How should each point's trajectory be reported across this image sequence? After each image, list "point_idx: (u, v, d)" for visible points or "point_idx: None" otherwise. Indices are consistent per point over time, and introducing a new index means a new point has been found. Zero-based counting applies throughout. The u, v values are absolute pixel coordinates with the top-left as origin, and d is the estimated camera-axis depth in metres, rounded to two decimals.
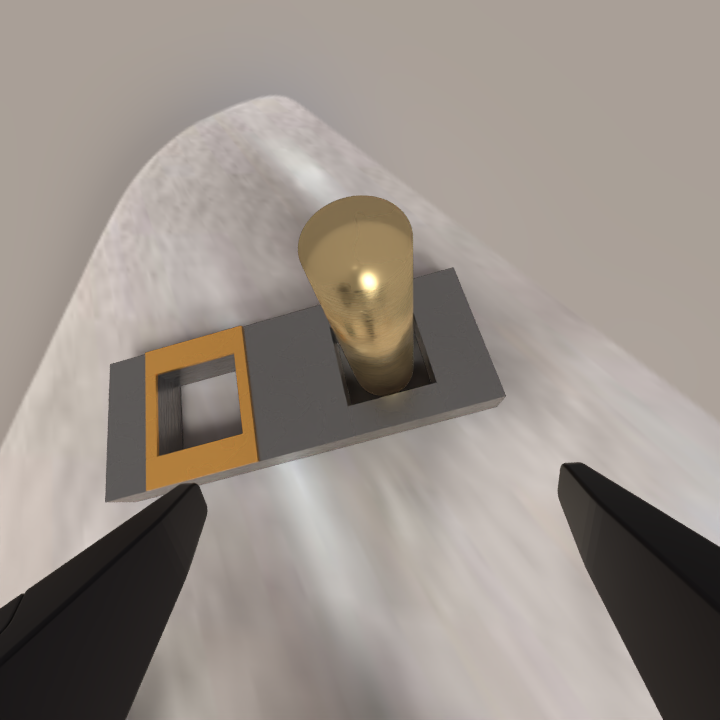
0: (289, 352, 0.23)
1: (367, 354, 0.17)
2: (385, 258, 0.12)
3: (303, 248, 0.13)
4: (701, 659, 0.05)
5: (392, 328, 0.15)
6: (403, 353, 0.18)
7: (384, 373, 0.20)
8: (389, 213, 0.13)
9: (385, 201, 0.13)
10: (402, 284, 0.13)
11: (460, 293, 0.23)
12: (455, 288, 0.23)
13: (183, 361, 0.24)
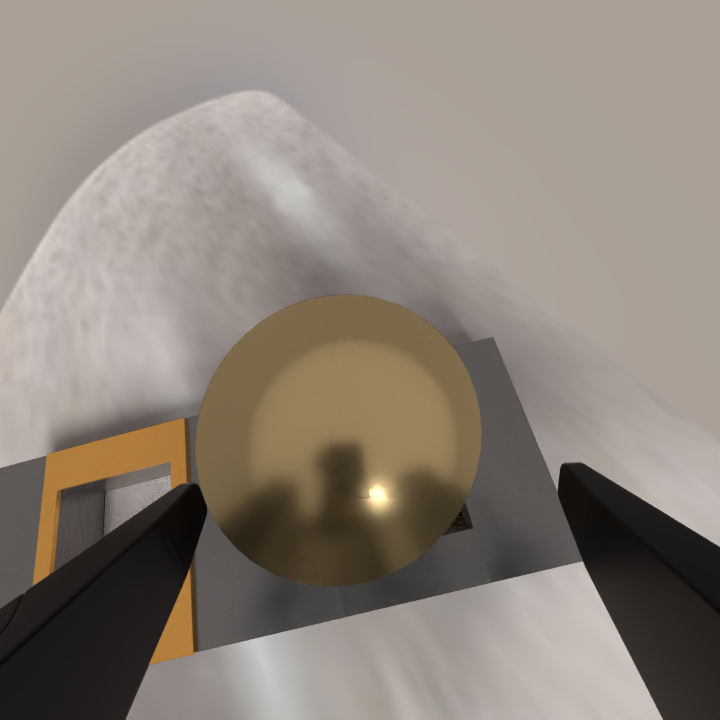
0: None
1: None
2: (410, 484, 0.05)
3: (208, 431, 0.05)
4: (701, 659, 0.05)
5: None
6: None
7: None
8: (418, 347, 0.05)
9: (407, 313, 0.05)
10: None
11: (505, 378, 0.15)
12: (497, 370, 0.16)
13: (97, 471, 0.16)
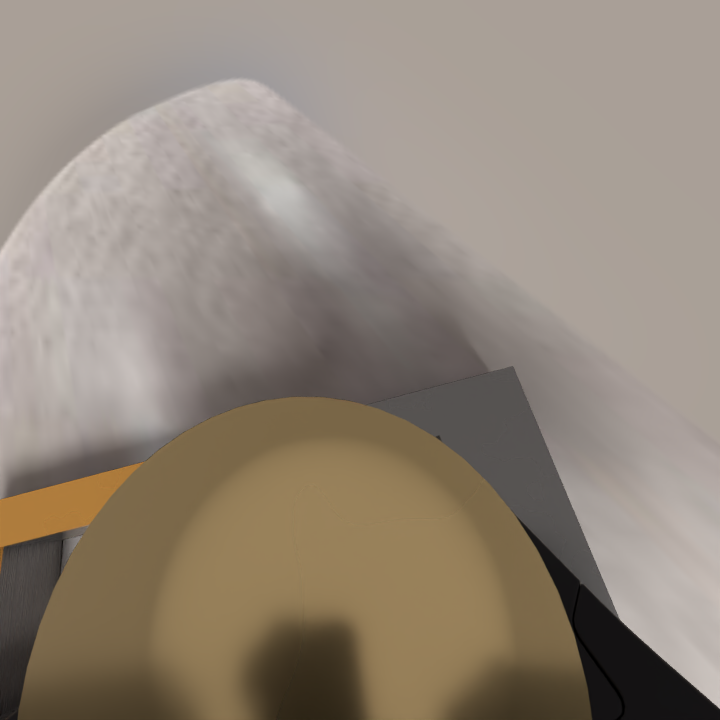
0: None
1: None
2: None
3: (47, 680, 0.03)
4: None
5: None
6: None
7: None
8: (451, 517, 0.03)
9: (429, 440, 0.03)
10: None
11: (528, 417, 0.13)
12: (518, 407, 0.13)
13: (46, 524, 0.14)
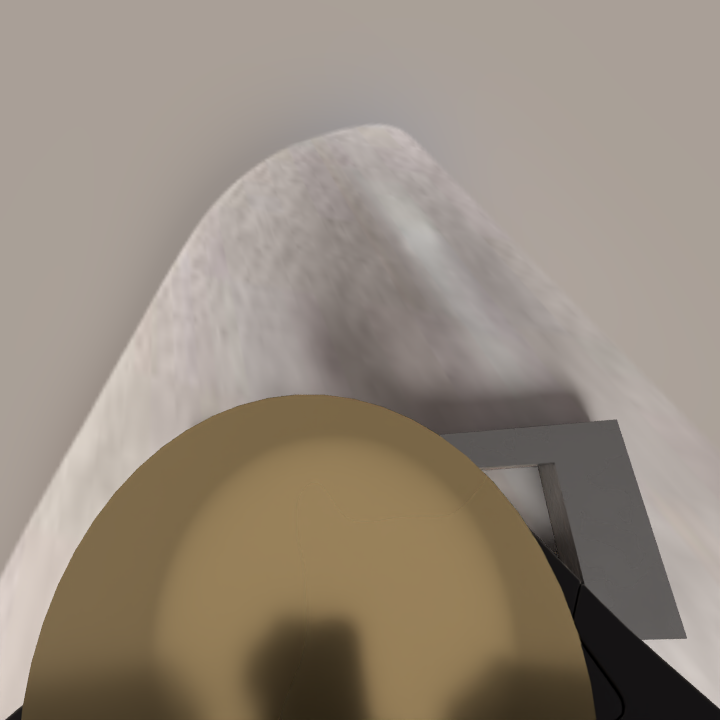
0: None
1: None
2: None
3: (51, 677, 0.03)
4: None
5: None
6: None
7: None
8: (454, 514, 0.03)
9: (432, 438, 0.03)
10: None
11: (625, 460, 0.17)
12: (618, 452, 0.17)
13: None
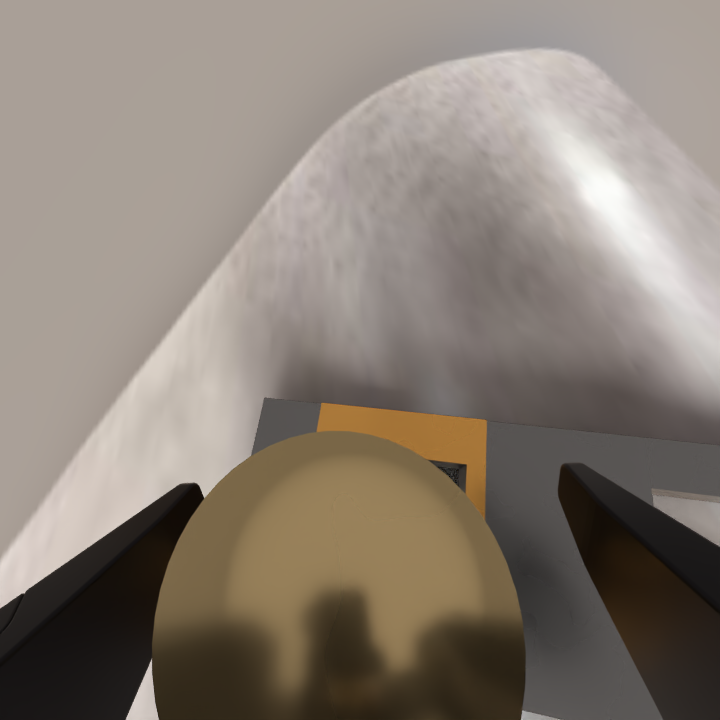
0: None
1: None
2: None
3: (169, 624, 0.04)
4: (701, 659, 0.05)
5: None
6: None
7: None
8: (438, 515, 0.04)
9: (424, 463, 0.04)
10: None
11: None
12: None
13: None
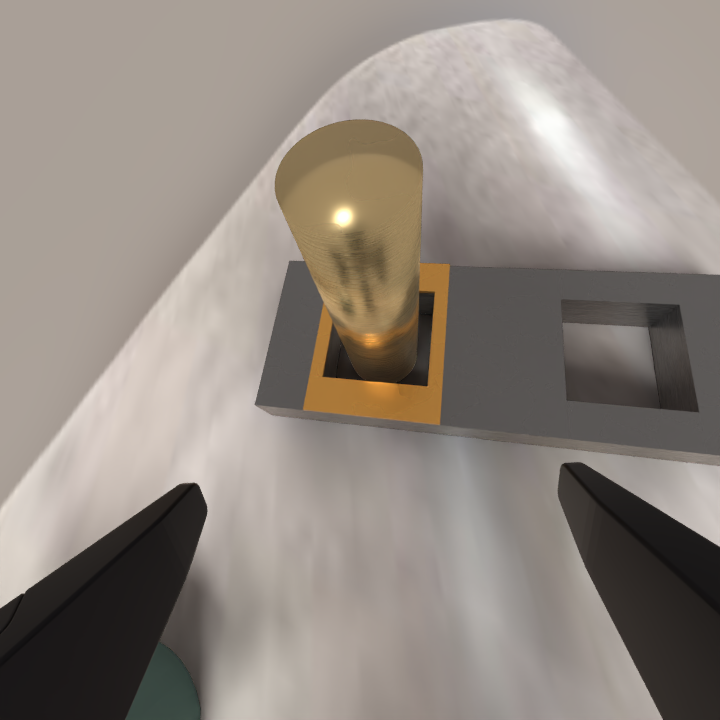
0: (502, 313, 0.19)
1: (364, 330, 0.14)
2: (387, 193, 0.09)
3: (281, 183, 0.10)
4: (701, 659, 0.05)
5: (395, 294, 0.12)
6: (407, 331, 0.16)
7: (384, 356, 0.17)
8: (392, 139, 0.10)
9: (387, 125, 0.10)
10: (409, 231, 0.10)
11: None
12: None
13: None
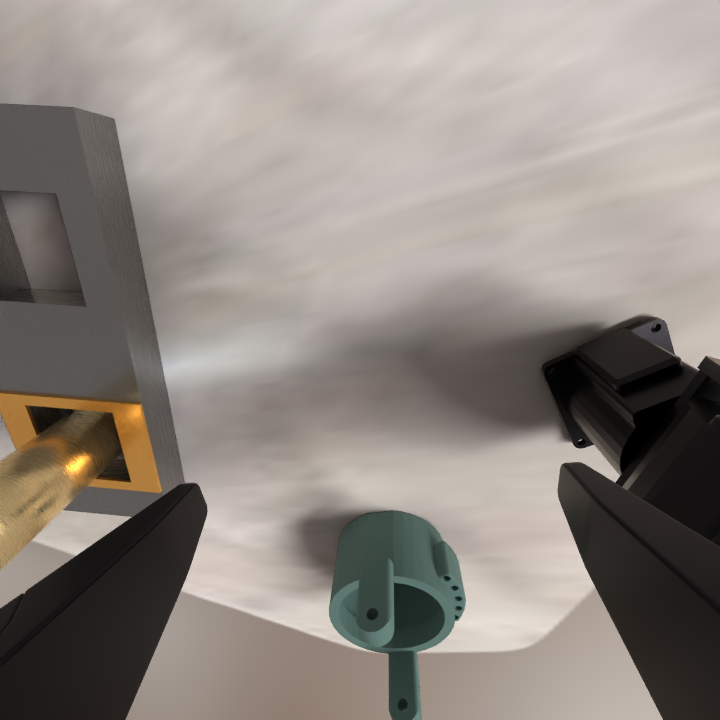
0: (24, 350, 0.20)
1: (48, 506, 0.18)
2: None
3: None
4: (701, 659, 0.05)
5: None
6: (50, 459, 0.19)
7: (87, 458, 0.21)
8: None
9: None
10: None
11: None
12: None
13: None
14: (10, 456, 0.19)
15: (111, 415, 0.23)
